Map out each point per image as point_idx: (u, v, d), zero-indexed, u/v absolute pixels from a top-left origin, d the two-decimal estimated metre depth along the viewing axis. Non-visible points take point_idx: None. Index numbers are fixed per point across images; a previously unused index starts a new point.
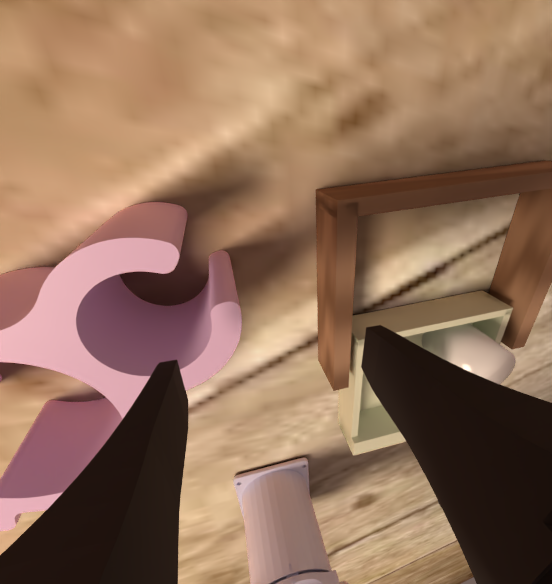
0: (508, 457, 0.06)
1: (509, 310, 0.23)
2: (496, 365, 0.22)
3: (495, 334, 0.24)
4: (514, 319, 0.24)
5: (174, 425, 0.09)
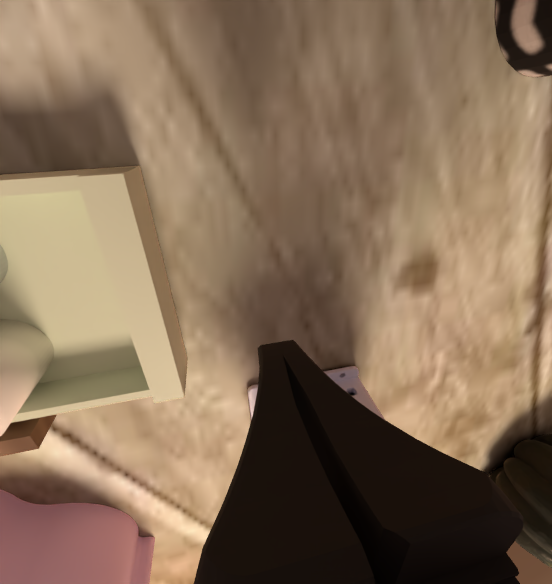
0: (349, 500, 0.05)
1: None
2: None
3: None
4: None
5: None
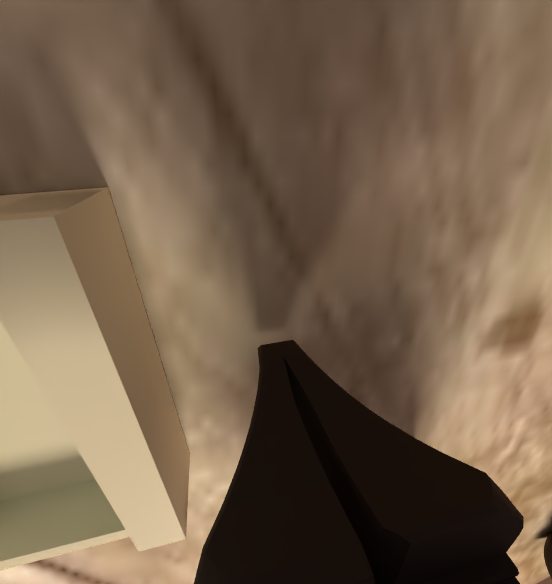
0: (349, 500, 0.05)
1: None
2: None
3: None
4: None
5: None
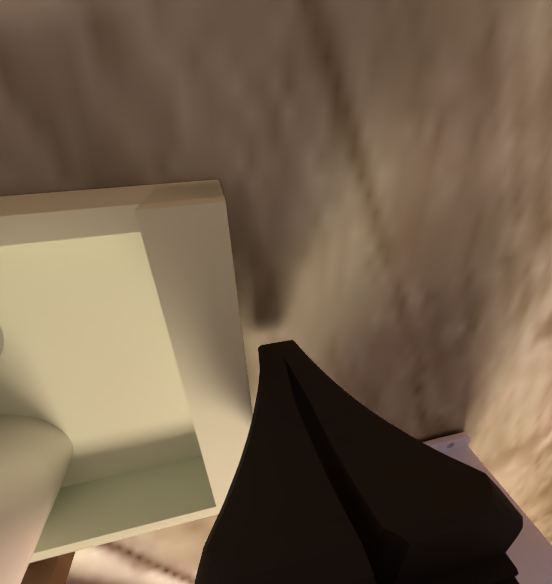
0: (349, 500, 0.05)
1: None
2: None
3: None
4: None
5: None
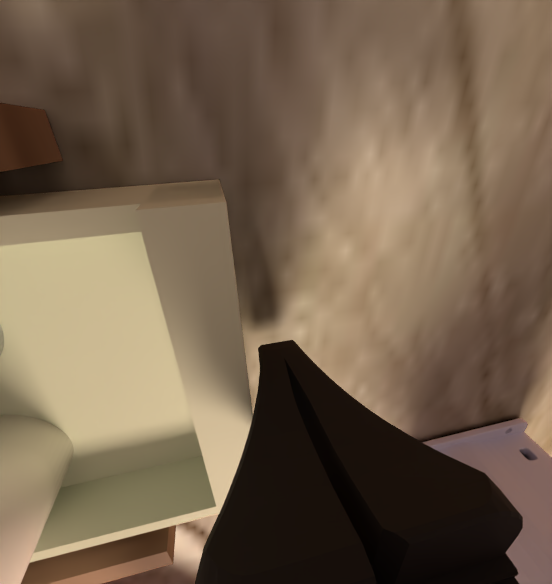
0: (349, 500, 0.05)
1: None
2: None
3: None
4: None
5: None
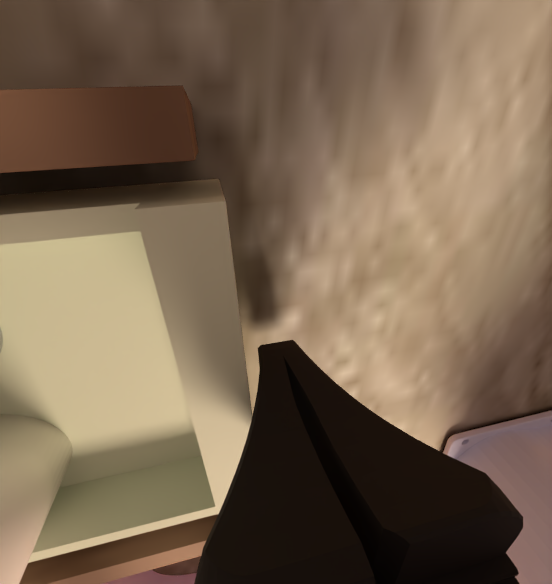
0: (349, 500, 0.05)
1: None
2: None
3: None
4: None
5: None
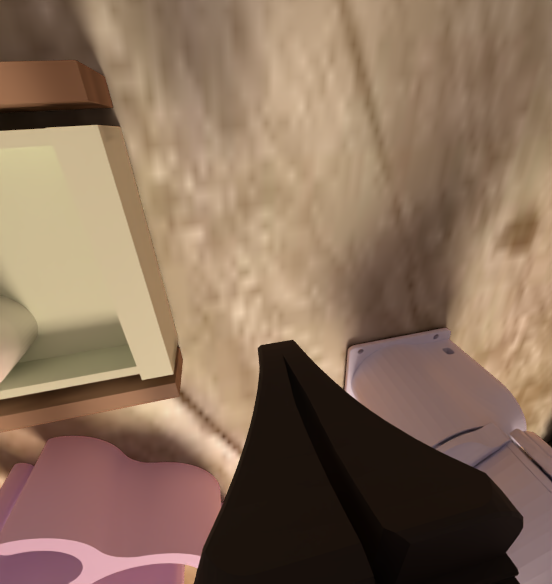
0: (349, 500, 0.05)
1: None
2: None
3: None
4: (20, 105, 0.11)
5: None
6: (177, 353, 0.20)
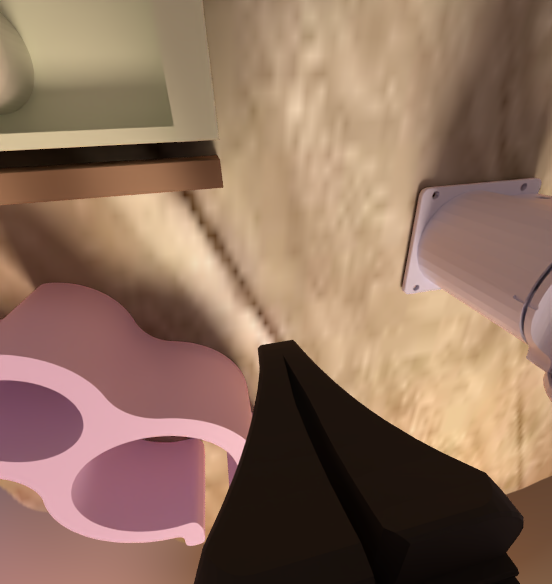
0: (349, 500, 0.05)
1: None
2: None
3: None
4: None
5: None
6: (216, 155, 0.16)
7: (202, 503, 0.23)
